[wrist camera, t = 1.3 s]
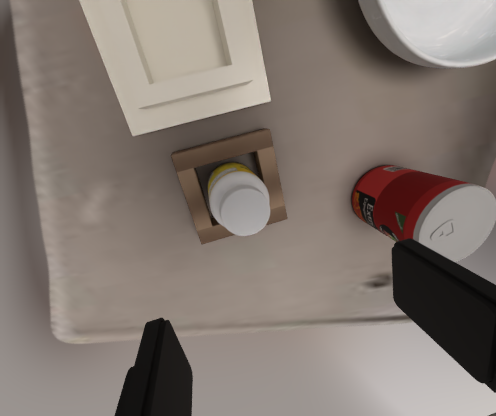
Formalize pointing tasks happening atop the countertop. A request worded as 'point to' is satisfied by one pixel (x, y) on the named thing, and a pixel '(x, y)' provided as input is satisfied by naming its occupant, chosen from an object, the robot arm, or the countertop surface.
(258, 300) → the countertop surface
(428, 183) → the canned food
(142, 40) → the cream rack
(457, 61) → the serving bowl
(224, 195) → the supplement bottle
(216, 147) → the walnut socket block
